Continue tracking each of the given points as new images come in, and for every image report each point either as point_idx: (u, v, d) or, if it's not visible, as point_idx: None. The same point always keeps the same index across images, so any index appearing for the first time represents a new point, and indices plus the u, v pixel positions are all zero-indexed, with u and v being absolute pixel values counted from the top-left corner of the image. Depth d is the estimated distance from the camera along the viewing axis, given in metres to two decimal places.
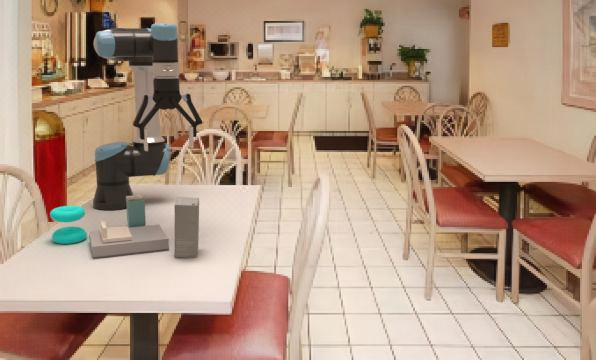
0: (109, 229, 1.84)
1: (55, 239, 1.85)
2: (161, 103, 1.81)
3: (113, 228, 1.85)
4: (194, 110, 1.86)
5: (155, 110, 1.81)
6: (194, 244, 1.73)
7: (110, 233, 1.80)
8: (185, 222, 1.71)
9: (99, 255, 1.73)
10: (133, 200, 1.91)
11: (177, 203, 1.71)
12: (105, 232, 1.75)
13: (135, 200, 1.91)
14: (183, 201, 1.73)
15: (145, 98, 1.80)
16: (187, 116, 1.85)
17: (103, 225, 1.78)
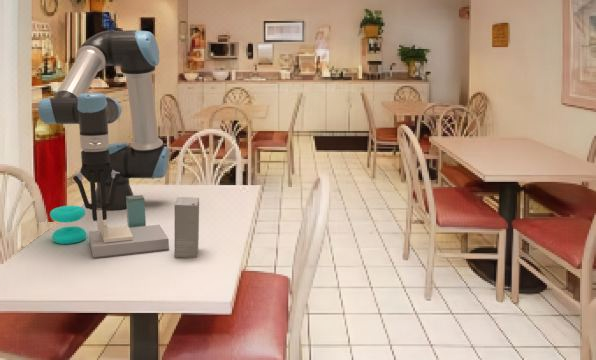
0: (110, 229, 1.84)
1: (55, 239, 1.85)
2: (92, 177, 1.72)
3: (113, 228, 1.85)
4: (113, 191, 1.75)
5: (93, 186, 1.72)
6: (194, 244, 1.73)
7: (111, 233, 1.80)
8: (185, 222, 1.71)
9: (99, 255, 1.73)
10: (133, 200, 1.91)
11: (177, 203, 1.71)
12: (106, 232, 1.75)
13: (135, 200, 1.91)
14: (183, 201, 1.73)
15: (76, 180, 1.71)
16: (103, 196, 1.74)
17: (104, 225, 1.78)
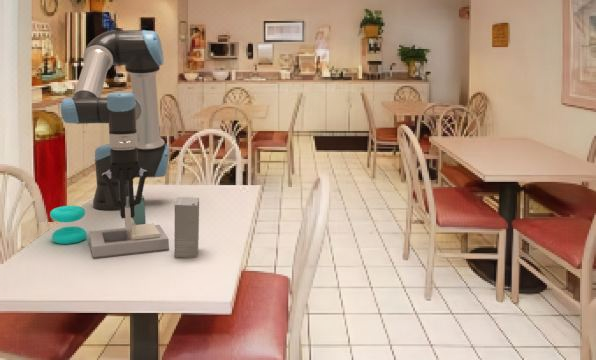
0: (136, 226, 1.87)
1: (55, 239, 1.85)
2: (121, 175, 1.74)
3: (140, 225, 1.88)
4: (141, 188, 1.78)
5: (121, 184, 1.75)
6: (194, 244, 1.73)
7: (138, 230, 1.83)
8: (185, 222, 1.71)
9: (99, 255, 1.73)
10: None
11: (177, 203, 1.71)
12: (134, 229, 1.78)
13: None
14: (183, 201, 1.73)
15: (105, 177, 1.73)
16: (131, 193, 1.77)
17: (131, 222, 1.81)
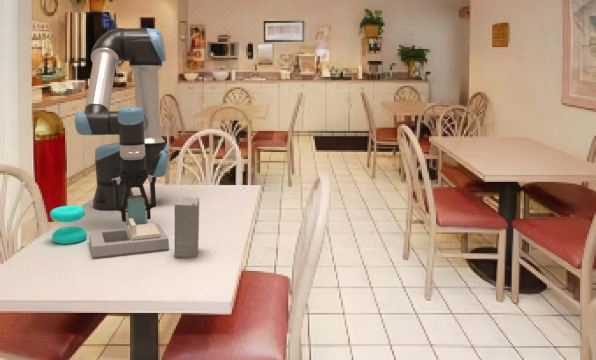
0: (137, 226, 1.87)
1: (55, 239, 1.85)
2: (129, 183, 1.90)
3: (140, 225, 1.88)
4: (153, 193, 1.94)
5: (127, 191, 1.91)
6: (194, 244, 1.73)
7: (138, 230, 1.83)
8: (185, 222, 1.71)
9: (99, 255, 1.73)
10: (133, 200, 1.91)
11: (177, 203, 1.71)
12: (134, 229, 1.78)
13: (135, 200, 1.91)
14: (183, 201, 1.73)
15: (114, 183, 1.89)
16: (145, 198, 1.94)
17: (132, 222, 1.81)
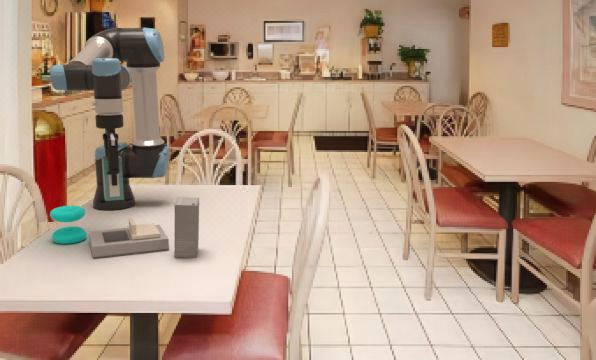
0: (137, 226, 1.87)
1: (55, 239, 1.85)
2: None
3: (140, 225, 1.88)
4: (109, 157, 1.72)
5: (105, 148, 1.78)
6: (194, 244, 1.73)
7: (138, 230, 1.83)
8: (185, 222, 1.71)
9: (99, 255, 1.73)
10: (102, 158, 1.77)
11: (177, 203, 1.71)
12: (134, 229, 1.78)
13: (102, 159, 1.77)
14: (183, 201, 1.73)
15: None
16: (108, 160, 1.74)
17: (132, 222, 1.81)
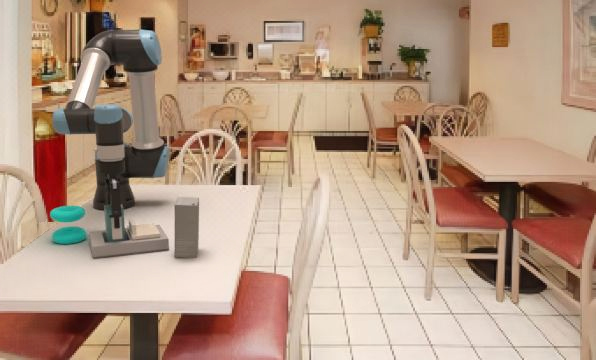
0: (137, 226, 1.87)
1: (55, 239, 1.85)
2: (105, 183, 1.80)
3: (140, 225, 1.88)
4: (111, 200, 1.72)
5: None
6: (194, 244, 1.73)
7: (138, 230, 1.83)
8: (185, 222, 1.71)
9: (99, 255, 1.73)
10: (104, 207, 1.80)
11: (177, 203, 1.71)
12: (134, 229, 1.78)
13: (104, 208, 1.79)
14: (183, 201, 1.73)
15: (105, 176, 1.84)
16: (110, 204, 1.75)
17: (132, 222, 1.81)
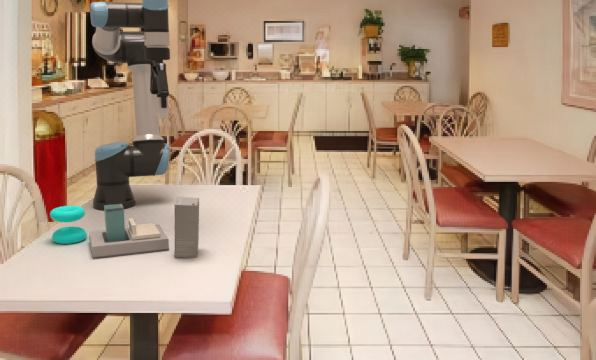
0: (137, 226, 1.87)
1: (55, 239, 1.85)
2: (151, 71, 1.91)
3: (140, 225, 1.88)
4: (158, 80, 1.83)
5: None
6: (194, 244, 1.73)
7: (138, 230, 1.83)
8: (185, 222, 1.71)
9: (99, 255, 1.73)
10: (104, 207, 1.80)
11: (177, 203, 1.71)
12: (134, 229, 1.78)
13: (104, 208, 1.79)
14: (183, 201, 1.73)
15: (150, 65, 1.95)
16: (157, 86, 1.85)
17: (132, 222, 1.81)
